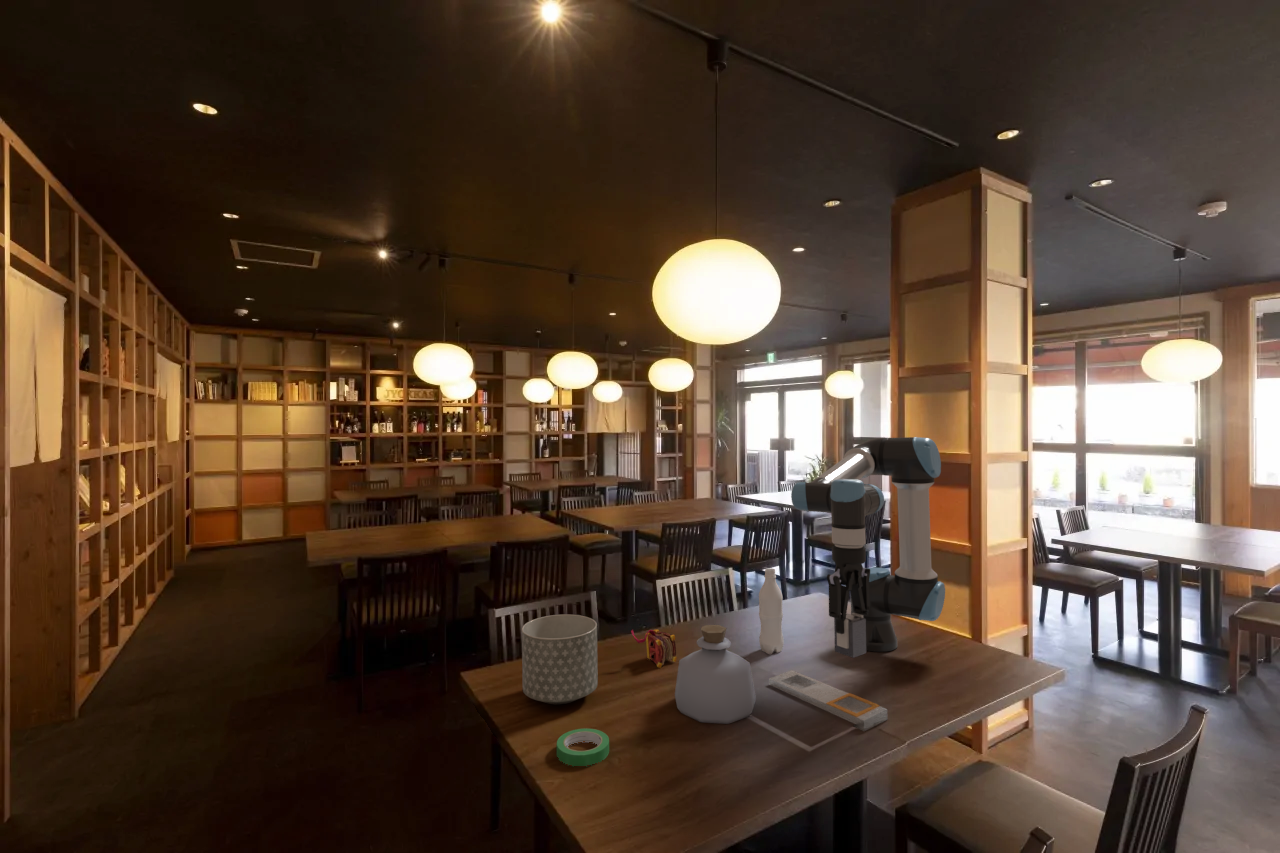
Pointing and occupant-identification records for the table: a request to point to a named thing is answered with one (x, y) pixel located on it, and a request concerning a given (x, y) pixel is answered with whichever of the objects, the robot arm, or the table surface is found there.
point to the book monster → (659, 646)
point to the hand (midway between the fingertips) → (850, 643)
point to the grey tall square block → (853, 636)
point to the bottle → (714, 681)
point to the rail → (831, 699)
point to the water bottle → (770, 614)
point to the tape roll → (585, 756)
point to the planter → (559, 658)
